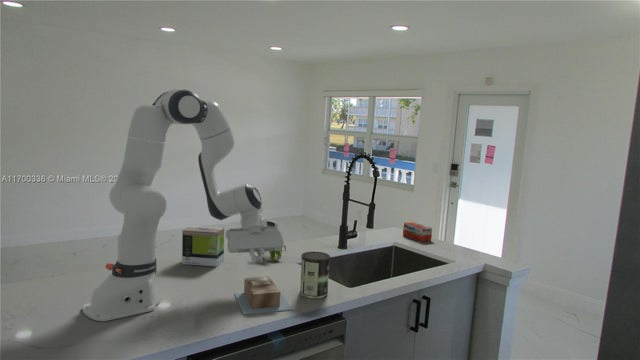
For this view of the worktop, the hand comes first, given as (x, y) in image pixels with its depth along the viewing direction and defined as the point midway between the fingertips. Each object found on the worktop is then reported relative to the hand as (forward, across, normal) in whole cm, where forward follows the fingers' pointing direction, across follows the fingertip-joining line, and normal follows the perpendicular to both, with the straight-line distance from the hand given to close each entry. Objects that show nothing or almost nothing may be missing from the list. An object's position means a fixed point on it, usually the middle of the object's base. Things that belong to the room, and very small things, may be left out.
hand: (258, 261), depth 154 cm
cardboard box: (+5, 0, +7) cm, 9 cm away
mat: (+14, 0, +2) cm, 14 cm away
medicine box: (-34, +104, +50) cm, 121 cm away
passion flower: (-20, +14, +36) cm, 43 cm away
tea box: (-18, -15, +35) cm, 42 cm away
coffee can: (+12, +20, +5) cm, 23 cm away
